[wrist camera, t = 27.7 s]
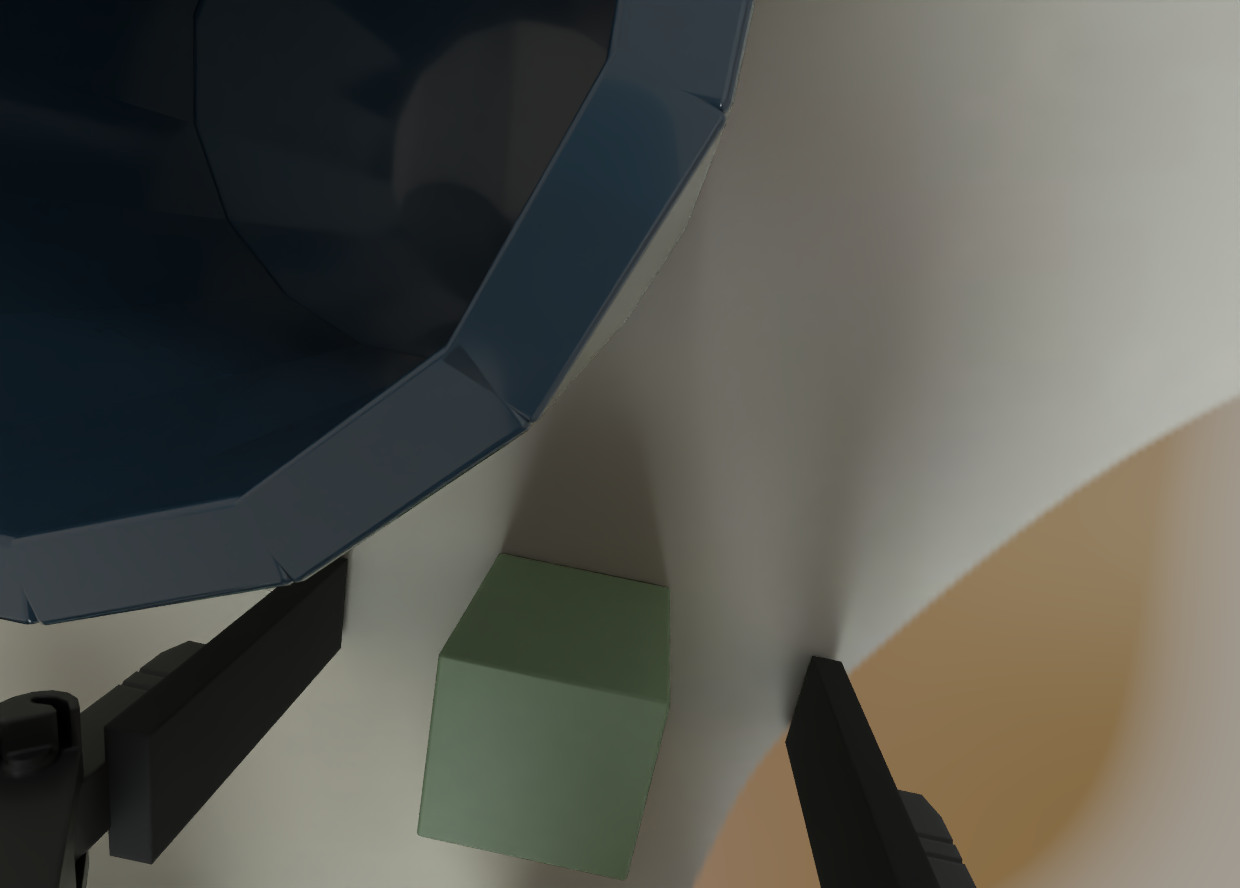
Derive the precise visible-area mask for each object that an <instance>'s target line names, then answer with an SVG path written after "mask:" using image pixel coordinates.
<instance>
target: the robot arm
mask: <svg viewBox="0 0 1240 888" xmlns="http://www.w3.org/2000/svg"><path fill="white" fill-rule="evenodd" d="M346 572H347V559H345V558H340V557H339V558H338V559H336V560H335V561H333V562H332V563H330V564H329V565H327V566H326V567H324V568H323V569H321V570H320V571H318V572H317V573H315V574H314V575H312V576H311V577H309V578H308V579H306V580H305V581H301V582H297V583H295V582H293V583H292V584H290V585H286V586H280V587H277V588H276V589H274V590H273V591H272V592H271V593H269V594H268V595H267V596H266V597H264V598H263V599H262V600H261V601H259V602H258V603H257V604H256V605H254V606H253V607H252V608H251V609H249V610H248V611H247V612H246V613H244V614H243V615H242V616H241V617H239V618H238V619H237V620H236V621H234V622H233V623H232V624H231V625H229V626H228V627H227V628H226V629H225V630H223V631H222V632H221V633H220V634H218V635H217V636H216V637H215V638H213V639H212V640H211V641H210V642H208V643H207V644H202V643H197V642H192V641H187V642H185V643H183V644H180V645H178V646H176V647H173V648H171V649H169V650H166V651H164V652H162V653H160V654H159V655H158V656H156V657H155V658H154V659H152V660H151V661H150V662H148V663H147V664H146V665H144V666H143V667H142V668H140V671H139V672H135V673H134V674H132V675H131V676H130V677H128V678H127V679H126V680H124V681H123V684H122V685H118V686H116V687H115V688H114V689H112V690H111V691H110V692H108V693H107V694H106V695H104V696H103V697H102V698H100V699H99V700H98V701H96V702H95V703H94V704H92V705H91V706H90V707H88V708H87V709H86V710H84V711H83V712H82V713H80V707H79V702H78V699H77V698H76V697H74V696H73V695H71V694H70V693H67V692H61V691H54V690H50V691H38V692H31V693H27V694H23V695H19V696H16V697H12V698H10V699H8V700H5V701H3V702H1V703H0V888H86V884H87V876H88V868H89V855H88V850H89V849H90V848H91V847H92V846H93V845H94V844H95V843H96V842H97V841H98V840H99V839H100V838H101V837H102V836H103V835H104V834H105V833H106V832H107V831H108V830H109V849H110V855H111V856H115V857H120V858H124V859H129V860H134V861H138V862H143V863H147V864H153V862H154V861H155V860H156V859H157V858H158V857H159V856H160V854H161V853H162V852H163V851H164V850H165V849H166V848H167V846H168V845H169V844H170V843H171V842H172V841H173V840H174V838H175V837H176V836H177V835H178V834H179V833H180V831H181V830H182V829H183V828H184V827H185V826H186V825H187V823H188V822H189V821H190V820H191V819H192V818H193V817H194V815H195V814H196V813H197V812H198V811H199V810H200V809H201V807H202V806H203V805H204V804H205V803H206V802H207V801H208V799H209V798H210V797H211V796H212V795H213V794H214V793H215V791H216V790H217V789H218V788H219V787H220V786H221V785H222V783H223V782H224V781H225V780H226V779H227V778H228V777H229V775H230V774H231V773H232V772H233V771H234V770H235V769H236V767H237V766H238V765H239V764H240V763H241V762H242V761H243V759H244V758H245V757H246V756H247V755H248V754H249V753H250V751H251V750H252V749H253V748H254V747H255V746H256V745H257V743H258V742H259V741H260V740H261V739H262V738H263V737H264V735H265V734H266V733H267V732H268V731H269V730H270V729H271V727H272V726H273V725H274V724H275V723H276V722H277V720H278V719H279V718H280V717H281V716H282V715H283V714H284V712H285V711H286V710H287V709H288V708H289V707H290V706H291V704H292V703H293V702H294V701H295V700H296V699H297V698H298V696H299V695H300V694H301V693H302V692H303V691H304V690H305V688H306V687H307V686H308V685H309V684H310V683H311V682H312V680H313V679H314V678H315V677H316V676H317V675H318V674H319V672H320V671H321V670H322V669H323V668H324V667H325V666H326V664H327V663H328V662H329V661H330V660H331V659H332V658H333V656H334V655H335V654H336V653H337V652H338V651H339V650H340V648H341V640H342V626H343V613H344V599H345V586H346ZM785 743H786V747H787V751H788V755H789V759H790V763H791V767H792V771H793V775H794V779H795V783H796V787H797V792H798V796H799V800H800V804H801V808H802V812H803V816H804V820H805V824H806V828H807V832H808V837H809V840H810V845H811V848H812V853H813V857H814V860H815V865H816V869H817V873H818V877H819V881H820V885H821V888H976V886H975V884H974V882H973V880H972V878H971V876H970V874H969V872H968V870H967V868H966V866H965V864H962V858H961V856H960V854H959V852H958V850H957V848H956V846H955V845H953V840H952V838H951V836H950V834H949V832H948V830H947V828H946V826H945V824H944V822H943V820H942V818H941V816H940V815H939V814H938V813H937V812H936V811H935V809H934V808H933V807H932V806H931V805H930V804H929V803H928V802H927V800H926V799H925V798H924V797H923V796H922V795H920V794H915V793H910V792H906V791H901V790H897V787H896V785H895V783H894V781H893V778H892V776H891V774H890V771H889V769H888V767H887V765H886V762H885V760H884V758H883V755H882V753H881V751H880V749H879V747H878V744H877V742H876V740H875V737H874V735H873V733H872V731H871V728H870V726H869V724H868V721H867V719H866V717H865V714H864V712H863V710H862V708H861V705H860V703H859V701H858V699H857V696H856V694H855V692H854V689H853V687H852V685H851V683H850V680H849V678H848V676H847V673H846V671H845V669H844V667H843V664H842V662H840V661H835V660H831V659H826V658H821V657H816V656H812V658H811V661H810V665H809V668H808V671H807V674H806V677H805V681H804V684H803V687H802V690H801V693H800V697H799V700H798V703H797V706H796V709H795V713H794V716H793V719H792V722H791V725H790V729H789V732H788V735H787V738H786V741H785Z"/></svg>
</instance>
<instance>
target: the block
mask: <svg viewBox="0 0 1240 888" xmlns="http://www.w3.org/2000/svg"><path fill="white" fill-rule="evenodd" d="M669 706H670V589H669V588H666V587H662V586H657V585H652V584H647V583H642V582H637V581H633V580H628V579H623V578H618V577H613V576H608V575H603V574H599V573H594V572H589V571H584V570H579V569H574V568H570V567H565V566H560V565H555V564H550V563H545V562H541V561H536V560H531V559H526V558H521V557H516V556H511V555H507V554H499V556H498V557H497V559H496V561H495V562H494V564H493V566H492V567H491V569H490V571H489V572H488V574H487V576H486V577H485V579H484V581H483V582H482V584H481V586H480V587H479V589H478V591H477V592H476V594H475V596H474V597H473V599H472V601H471V602H470V604H469V606H468V607H467V609H466V611H465V612H464V614H463V616H462V617H461V619H460V621H459V622H458V624H457V626H456V627H455V629H454V631H453V632H452V634H451V636H450V637H449V639H448V641H447V642H446V644H445V646H444V647H443V649H442V651H441V652H440V654H439V658H438V666H437V674H436V683H435V691H434V699H433V707H432V715H431V723H430V731H429V740H428V748H427V756H426V764H425V772H424V780H423V788H422V797H421V805H420V813H419V821H418V829H417V834H418V835H419V836H422V837H426V838H431V839H436V840H440V841H445V842H449V843H454V844H459V845H463V846H468V847H472V848H477V849H482V850H486V851H491V852H495V853H500V854H505V855H509V856H514V857H518V858H523V859H527V860H532V861H537V862H541V863H546V864H550V865H555V866H560V867H564V868H569V869H573V870H578V871H583V872H587V873H592V874H596V875H601V876H605V877H610V878H615V879H619V880H625V879H626V878H627V876H628V872H629V868H630V864H631V860H632V856H633V852H634V848H635V844H636V840H637V836H638V831H639V827H640V823H641V819H642V815H643V811H644V807H645V803H646V799H647V795H648V791H649V787H650V783H651V779H652V775H653V771H654V767H655V763H656V759H657V755H658V751H659V747H660V743H661V739H662V735H663V730H664V726H665V722H666V718H667V714H668V710H669Z"/></svg>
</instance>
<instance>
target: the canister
mask: <svg viewBox="0 0 1240 888" xmlns="http://www.w3.org/2000/svg"><path fill="white" fill-rule="evenodd" d="M754 5H755V0H0V619H3V620H8V621H13V622H17V623H22V624H35V623H39V622H40V623H41V624H43V625H50V624H57V623H63V622H69V621H75V620H81V619H87V618H93V617H99V616H105V615H111V614H117V613H123V612H129V611H135V610H141V609H147V608H153V607H159V606H165V605H171V604H177V603H184V602H190V601H196V600H202V599H208V598H214V597H220V596H226V595H232V594H238V593H244V592H250V591H256V590H262V589H268V588H274V587H280V586H286V585H290V584H292V583H293V582H295V583H297V582H301V581H305V580H306V579H308V578H309V577H311V576H312V575H314V574H315V573H317V572H318V571H320V570H321V569H323V568H324V567H326V566H327V565H329V564H330V563H332V562H333V561H335V560H336V559H338V558H339V557H341V556H342V555H343V554H345V553H346V552H348V551H349V550H351V549H352V548H354V547H355V546H357V545H358V544H360V543H361V542H363V541H364V540H366V539H367V538H369V537H370V536H372V535H373V534H375V533H376V532H378V531H379V530H381V529H382V528H384V527H385V526H387V525H388V524H390V523H391V522H393V521H394V520H396V519H397V518H399V517H400V516H402V515H403V514H405V513H406V512H407V511H409V510H410V509H412V508H413V507H415V506H416V505H418V504H419V503H421V502H422V501H424V500H425V499H427V498H428V497H430V496H431V495H433V494H434V493H436V492H437V491H439V490H440V489H442V488H443V487H445V486H446V485H448V484H449V483H451V482H452V481H454V480H455V479H457V478H458V477H460V476H461V475H463V474H464V473H466V472H467V471H469V470H470V469H471V468H473V467H474V466H476V465H477V464H479V463H480V462H482V461H483V460H485V459H486V458H488V457H489V456H491V455H492V454H494V453H495V452H497V451H498V450H500V449H501V448H503V447H504V446H506V445H507V444H509V443H510V442H512V441H513V440H515V439H516V438H518V437H519V436H521V435H522V434H524V433H525V432H527V431H528V430H529V429H530V428H531V426H532V425H533V424H534V423H535V422H536V421H538V420H539V419H540V418H541V417H542V416H543V414H544V413H545V412H546V411H547V410H548V409H549V408H550V406H551V405H552V404H553V403H554V402H555V401H556V400H557V398H558V397H559V396H560V395H561V394H562V393H563V392H564V391H565V389H566V388H567V387H568V386H569V385H570V384H571V383H572V381H573V380H574V379H575V378H576V377H577V376H578V375H579V373H580V372H581V371H582V370H583V369H584V368H585V367H586V365H587V364H588V363H589V362H590V361H591V360H592V359H593V357H594V356H595V355H596V354H597V353H598V352H599V351H600V349H601V348H602V347H603V346H604V345H605V344H606V343H607V341H608V340H609V339H610V338H611V337H612V336H613V335H614V333H615V332H616V331H617V330H618V329H619V328H620V327H621V325H622V324H623V323H624V322H625V321H626V320H627V319H628V317H629V316H630V314H631V313H632V311H633V310H634V308H635V307H636V305H637V304H638V302H639V300H640V299H641V297H642V296H643V294H644V293H645V291H646V290H647V288H648V287H649V285H650V283H651V282H652V280H653V279H654V277H655V276H656V275H657V273H658V271H659V270H660V268H661V266H662V265H663V263H664V262H665V260H666V259H667V257H668V256H669V254H670V252H671V251H672V249H673V248H674V246H675V245H676V243H677V242H678V240H679V239H680V237H681V235H682V234H683V232H684V231H685V229H686V227H687V224H688V222H689V219H690V216H691V214H692V211H693V209H694V206H695V203H696V201H697V198H698V196H699V193H700V190H701V188H702V185H703V182H704V180H705V177H706V175H707V172H708V169H709V167H710V164H711V162H712V159H713V156H714V154H715V151H716V149H717V146H718V143H719V141H720V138H721V135H722V133H723V130H724V128H725V125H726V121H727V119H728V116H729V113H730V111H731V108H732V106H733V103H734V98H735V94H736V89H737V84H738V80H739V75H740V70H741V65H742V61H743V56H744V51H745V47H746V42H747V37H748V33H749V28H750V23H751V19H752V14H753V9H754Z"/></svg>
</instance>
